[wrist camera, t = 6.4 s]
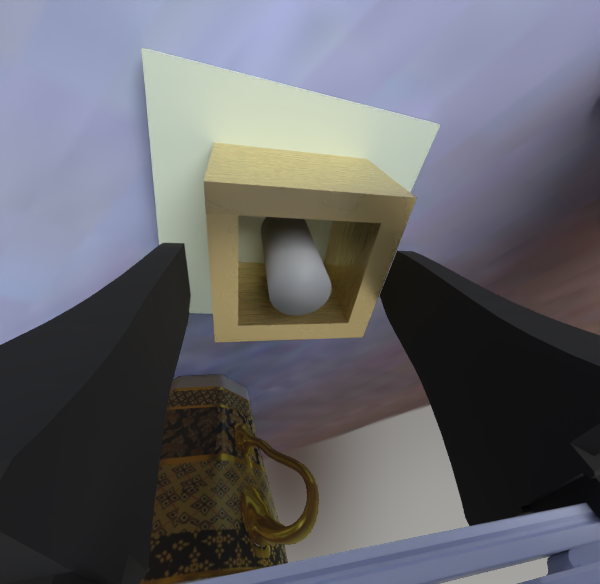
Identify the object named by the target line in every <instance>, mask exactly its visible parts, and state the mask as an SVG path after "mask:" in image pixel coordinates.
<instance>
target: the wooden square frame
mask: <svg viewBox="0 0 600 584" xmlns="http://www.w3.org/2000/svg"><path fill="white" fill-rule="evenodd" d="M204 195H205V209H206V223H207V238H208V252H209V266H210V280H211V294H212V308H213V322H214V336H215V342H242V341H270V340H298V339H327V338H355V337H363V335H364V333H365V330H366V327H367V325H368V322H369V320H370V317H371V314H372V312H373V309H374V307H375V304H376V302H377V299H378V296H379V294H380V291H381V289H382V286H383V283H384V281H385V278H386V276H387V273H388V271H389V268H390V265H391V263H392V260H393V258H394V255H395V253H396V250H397V247H398V245H399V242H400V240H401V237H402V234H403V232H404V229H405V227H406V224H407V222H408V219H409V216H410V214H411V211H412V209H413V206H414V204H415V201H416V197H415V196H414V195H413V194H411V193H410V192H409V191H407V190H406V189H405V188H404V187H402V186H401V185H400V184H399V183H397V182H396V181H395V180H393V179H392V178H391V177H390V176H388V175H387V174H386V173H384V172H383V171H382V170H381V169H379V168H378V167H377V166H375V165H374V164H373V163H372V162H370V161H369V160H368V159H365V158H355V157H346V156H337V155H327V154H318V153H309V152H299V151H290V150H280V149H271V148H262V147H252V146H243V145H234V144H224V143H215V142H214V145H213V149H212V152H211V156H210V159H209V163H208V167H207V170H206V174H205V177H204ZM238 215H243V216H261V217H279V218H297V219H315V220H333V224H332V228H331V233H330V237H329V242H328V247H327V251H326V256H325V260H324V267H325V269H326V272H327V274H328V276H329V279H330V281H331V293H330V296H329V298H328V300H327V301H326V302H325V304H324V305H323V306H321V307H320V308H319V309H317V310H315V311H313V312H311V313H308V314H305V315H288V314H284V313H282V312H280V311H278V310H277V309H276V308H275V307H274V306H273V305H272V303H271V301H270V298H269V291H268V284H267V276H266V269H265V263H255V262H238Z"/></svg>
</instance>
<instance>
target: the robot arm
mask: <svg viewBox="0 0 600 584" xmlns="http://www.w3.org/2000/svg"><path fill="white" fill-rule="evenodd" d="M380 297H381V300H382V304H383V307H384V309H385V312H386V315H387V317H388V319H389V321H390V323H391V325H392V327H393V329H394V331H395V333H396V335H397V337H398V338H399V340H400V342H401V344H402V346H403V348H404V349H405V351H406V353H407V355H408V357H409V359H410V360H411V362H412V364H413V366H414V368H415V370H416V372H417V374H418V376H419V378H420V380H421V382H422V385H423V387H424V390H425V392H426V395H427V397H428V399H429V402H430V404H431V407H432V410H433V412H434V415H435V418H436V420H437V423H438V426H439V429H440V431H441V434H442V437H443V440H444V443H445V447H446V450H447V453H448V456H449V459H450V462H451V465H452V469H453V472H454V476H455V479H456V483H457V486H458V490H459V494H460V497H461V501H462V505H463V509H464V514H465V518H466V520H467V522H468V524H469V527H464V528H459V529H454V530H450V531H444V532H439V533H434V534H429V535H424V536H419V537H415V538H409V539H404V540H399V541H395V542H390V543H385V544H380V545H375V546H370V547H365V548H360V549H355V550H350V551H345V552H341V553H335V554H330V555H325V556H321V557H316V558H311V559H306V560H301V561H296V562H291V563H286V564H281V565H276V566H271V567H266V568H261V569H256V570H251V571H246V572H242V573H237V574H232V575H227V576H222V577H217V578H212V579H207V580H202V581H197V582H192V583H187V584H440V583H444V582H448V581H451V580H456V579H460V578H464V577H468V576H472V575H476V574H480V573H484V572H488V571H492V570H496V569H500V568H505V567H508V566H513V565H516V564H521V563H525V562H529V561H533V560H537V559H541V558H545V557H549V556H550V557H549V558H548V561H547V565H548V574H547V575H546V576H543V577H540V578H536V579H533V580H529V581H525V582H522V583H518V584H600V335H597V334H594V333H591V332H588V331H585V330H582V329H579V328H576V327H573V326H571V325H568V324H565V323H562V322H559V321H557V320H554V319H552V318H549V317H546V316H544V315H541V314H539V313H537V312H534V311H532V310H529V309H527V308H525V307H522V306H520V305H518V304H515V303H513V302H511V301H509V300H507V299H505V298H503V297H501V296H499V295H497V294H495V293H493V292H491V291H489V290H487V289H485V288H483V287H481V286H479V285H477V284H475V283H473V282H471V281H469V280H467V279H466V278H464V277H462V276H460V275H458V274H456V273H455V272H453V271H451V270H449V269H447V268H446V267H444V266H442V265H440V264H438V263H436V262H434V261H432V260H430V259H429V258H427V257H424V256H422V255H420V254H418V253H415V252H412V251H397V253H396V255H395V258H394V260H393V263H392V265H391V268H390V270H389V273H388V276H387V278H386V281H385V283H384V286H383V288H382V291H381V293H380ZM190 299H191V292H190V284H189V276H188V268H187V260H186V252H185V244H184V243H162V244H160V245H159V246H158V247H156V248H155V249H154V250H153V251H151V252H150V253H149V254H148V255H146V256H145V257H144V258H143V259H142V260H140V261H139V262H138V263H136V264H135V265H134V266H133V267H131V268H130V269H129V270H127V271H126V272H125V273H124V274H122V275H121V276H120V277H118V278H117V279H115V280H114V281H112V282H111V283H110V284H108V285H107V286H105V287H104V288H102V289H101V290H99V291H98V292H97V293H95V294H94V295H92V296H91V297H89V298H88V299H86V300H84V301H83V302H81V303H80V304H78V305H76V306H75V307H73V308H71V309H69V310H68V311H66V312H64V313H62V314H61V315H59V316H57V317H55V318H54V319H52V320H50V321H48V322H46V323H44V324H42V325H40V326H38V327H36V328H34V329H32V330H30V331H28V332H26V333H24V334H22V335H20V336H18V337H16V338H14V339H12V340H10V341H8V342H6V343H4V344H2V345H0V584H139V583H140V581H141V580H142V579H143V577H144V576H145V575H146V573H147V572H148V562H149V551H150V542H151V532H152V523H153V513H154V504H155V496H156V488H157V479H158V471H159V463H160V456H161V448H162V441H163V433H164V426H165V420H166V413H167V406H168V400H169V394H170V390H171V385H172V381H173V377H174V373H175V369H176V366H177V362H178V358H179V354H180V350H181V347H182V343H183V339H184V335H185V331H186V327H187V323H188V316H189V308H190Z"/></svg>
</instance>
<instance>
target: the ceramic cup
mask: <svg viewBox="0 0 600 584" xmlns="http://www.w3.org/2000/svg"><path fill="white" fill-rule="evenodd" d="M260 449H261V450H262V451H263V452H264V453H265V454H266V455H268V456H269V457H270V458H272V459H274V460H275V461H277V462H279V463H281V464H283V465H286V466H288V467H290V468H292V469H294V470H296V471H297V472H298V473H299V474H300V475H301V476H302V477H303V479H304V481H305V484H306V489H307V502H306V506H305V509H304V512H303V514H302V515H301V517H300V518H299V519H298V520H297V521H296V522H295V523H293V524H292V525H290V526H287V527H286V526H284V525H282V524H281V523H279V520H278V516H277V512H276V508H275V505H274V501H273V497H272V493H271V489H270V486H269V482H268V479H267V475H266V472H265V469H264V465H263V460H262V456H261V452H260ZM318 504H319V494H318V488H317V484H316V481H315V479H314V477H313V475H312V474H311V472H310V471H309V470H308V468H307V467H305V466H304V465H303V464H302V463H300V462H299V461H297V460H295V459H293V458H291V457H289V456H286V455H284V454H282V453H279V452H277V451H276V450H274V449H273V448H272V447H271V446H270V445H268V444H267V443H266V442H265V441H263V440H261V439H259V438H257V434H256V430H255V426H254V421H253V416H252V411H251V406H250V401H249V395H248V391H247V390H246V388H245V387H244V386H242V385H240V384H238V383H236V382H235V381H233V380H231V379H229V378H227V377H225V376H224V375H195V376H179V377H177V378H175V379H174V380H173V381H172V385H171V390H170V394H169V400H168V406H167V413H166V420H165V426H164V433H163V441H162V448H161V456H160V463H159V471H158V479H157V488H156V496H155V504H154V513H153V523H152V532H151V542H150V551H149V562H148V572H147V573H146V575H145V576H144V577H143V579H142V580H141V581H140V583H139V584H187V583H192V582H197V581H202V580H207V579H212V578H217V577H222V576H227V575H232V574H237V573H242V572H246V571H251V570H256V569H261V568H266V567H271V566H276V565H281V564H286V563H288V561H287V557H286V551H285V545H290V544H295V543H297V542H299V541H301V540H303V539H304V538H305V537H307V536H308V534H309V533H310V532H311V530H312V529H313V527H314V524H315V522H316V518H317V514H318Z"/></svg>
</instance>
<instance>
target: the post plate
mask: <svg viewBox="0 0 600 584" xmlns="http://www.w3.org/2000/svg"><path fill="white" fill-rule="evenodd" d="M141 49H142V60H143V71H144V82H145V93H146V105H147V116H148V127H149V138H150V149H151V160H152V171H153V182H154V194H155V205H156V216H157V227H158V238H159V245H160V244H162V243H184V244H185V252H186V260H187V268H188V276H189V284H190V292H191V299H190V308H189V313H201V314H213V308H212V294H211V280H210V266H209V252H208V238H207V223H206V209H205V195H204V177H205V174H206V170H207V167H208V163H209V159H210V156H211V152H212V149H213V145H214V142H215V143H224V144H234V145H243V146H252V147H262V148H271V149H280V150H290V151H299V152H309V153H318V154H327V155H337V156H346V157H355V158H365V159H368V160H369V161H370V162H372V163H373V164H374V165H375V166H377V167H378V168H379V169H381V170H382V171H383V172H384V173H386V174H387V175H388V176H390V177H391V178H392V179H393V180H395V181H396V182H397V183H399V184H400V185H401V186H402V187H404V188H405V189H406V190H407V191H409V192H411V190H412V187H413V185H414V183H415V181H416V178H417V176H418V174H419V172H420V169H421V167H422V165H423V163H424V160H425V158H426V156H427V154H428V151H429V149H430V147H431V145H432V142H433V140H434V138H435V136H436V133H437V131H438V129H439V127H440V125H439V124H436V123H433V122H430V121H426V120H422V119H418V118H414V117H410V116H407V115H403V114H399V113H395V112H391V111H387V110H383V109H379V108H376V107H372V106H368V105H364V104H360V103H356V102H352V101H348V100H345V99H341V98H337V97H333V96H329V95H325V94H321V93H317V92H314V91H310V90H306V89H302V88H298V87H294V86H290V85H286V84H283V83H279V82H275V81H271V80H267V79H263V78H259V77H255V76H252V75H248V74H244V73H240V72H236V71H232V70H228V69H224V68H221V67H217V66H213V65H209V64H205V63H201V62H197V61H193V60H190V59H186V58H182V57H178V56H174V55H170V54H166V53H162V52H159V51H155V50H151V49H145V48H141ZM332 224H333V220H315V219H297V218H279V217H261V216H243V215H238V262H255V263H265V269H266V276H267V284H268V291H269V298H270V301H271V303H272V305H273V306H274V307H275V308H276V309H277V310H278V311H280V312H282V313H284V314H288V315H305V314H308V313H311V312H313V311H315V310H317V309H319V308H320V307H321V306H323V305H324V304H325V302H326V301H327V300H328V298H329V296H330V293H331V281H330V279H329V276H328V274H327V272H326V269H325V267H324V260H325V256H326V251H327V247H328V242H329V237H330V233H331V228H332Z"/></svg>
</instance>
